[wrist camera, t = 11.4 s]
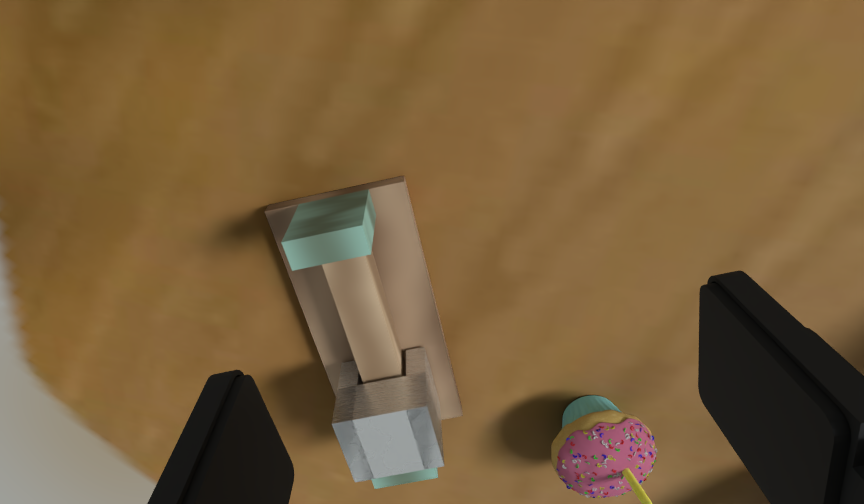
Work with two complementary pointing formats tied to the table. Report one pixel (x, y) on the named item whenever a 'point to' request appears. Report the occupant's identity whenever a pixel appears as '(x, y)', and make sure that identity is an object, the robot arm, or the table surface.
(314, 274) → the rail bed
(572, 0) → the table surface
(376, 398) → the grey sliding block
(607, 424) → the cupcake
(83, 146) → the table surface
